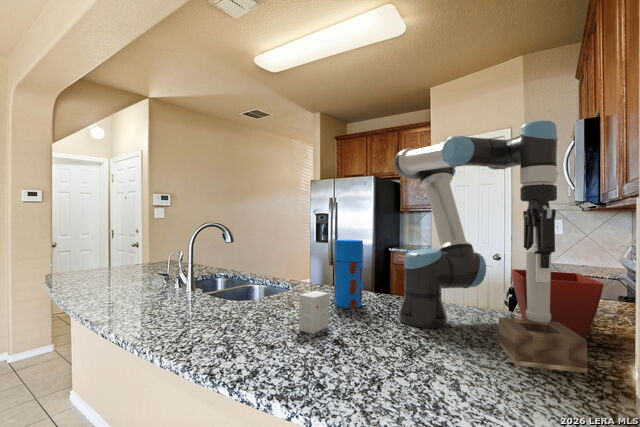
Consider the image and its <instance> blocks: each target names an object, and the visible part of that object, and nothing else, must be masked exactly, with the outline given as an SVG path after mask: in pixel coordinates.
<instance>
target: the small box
mask: <svg viewBox="0 0 640 427" xmlns="http://www.w3.org/2000/svg"><path fill="white" fill-rule="evenodd" d="M298 298H299V299H298V300H299V301H298V302H299V303H298V304H299V305H298V306H299V307H298V308H299V312H298V330H299V332H303V333H308V334H310V335H311V334H312V335H315V334H316V333H319V332H321V331H323V330H325V329H327V328H329V320H330V319H329V318H330V316H329V314H330V311H329V310H330V293H329V292H324V291H319V290H312V291H309V292H305V293H303V294H299V296H298Z"/></svg>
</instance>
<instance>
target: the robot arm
mask: <svg viewBox="0 0 640 427" xmlns="http://www.w3.org/2000/svg"><path fill="white" fill-rule="evenodd" d="M557 134H558V132H557V125H556V123H555V122H554V121H551V120H545V119H544V120H543V119H542V120H535V121H534V120H533V121H531V122H527V123H524V124H523V125H521V127H520V132H519V135H518V136H515V137H512V138H508V139H502V138H501V139H500V138H486V137H485V138H484V137H475V136H474V137H471V136H466V135H457V136H456V135H454V136H449V137H448V138H447V139H446V140H445V141H444V142H440V143H438V144H433V145H430V146H425V147H421V148H413V147H408V148H404V149H402V150H400V151H399V152H398V153H396V155H395V157H394V160H393V167H394V170H395V172H396V173H397V174H398V175H399V176H401V177H403V178H405V179H411V180H412V179H413V180H419V181H420V185H421V187H422V188H423V189H425V190H426V193H427V196H428V201H429V204H430V208H431V213H432V217H433V222H434V225H435V228H436V233H437V237H438V242H439V245H440V247H439V248H423V249H422V248H420V249H414V250H411V251H410V250H409V251H408V252H406V254H405V257H404V265H403V266H404V267H403V268H404V296H403V298H402V302H401V305H400V309H399V311H398V320H399V321H400V322H401V323H403V324H405V325H408V326H412V327H417V328H426V329H431V328H432V329H436V328H442V327H446V326H447V325H448V315H447V312H446V309H445V306H444V302H443V300H442V290H443V289H469V288H476V287H478V286H480V285H481V284H482V283H483V281H484V279H485V277H486V275H487V263H486V259H485V258H484V256H483V255H482V254H480V253H478V252H475V250H474V246H473V245H472V243H470V242H468V241H467V240H466V236H465V233H464V230H463V226H462V222H461V218H460V214H459V211H458V208H457V204H456V201H455V198H454V194H453V190H452V187H451V182H452V181H453V180H454V179H453V177H454V176H455V174H456V171H457V170H456V168H457V167H466V166H468V167H469V166H470V167H473V166H475V167H487V168H489V169H491V170H493V171H494V170H506V169H509V168H513V167H517V166H520V171H519V172H520V173H519V176H520V177H519V184H520V185H522V186H520V193H519V194H520V201H521V202H528V206H527V208H526V210H523V212H522V213H523V214H522V215H523V248H524V249H525V251H527V250H529V249H530V248H531V247H532V245H533V244H534V226H535V229H536V239H537V249H538V251H535V252H534V253H535V254H536V281H537V282H550V254H551V255H552V253H556V226H555V225H556V222H555V220H556V214H557V210H556V209H554V208H551V209H550V202H555V201H556V200H557V199H558V186H557V185H556V183H557V180H558V179H557V178H558V177H557V176H559V174H560V173H559V171H558V169H557V168H558V167H557V163H558V162H557V154H558V152H557V151H558V150H557V149H558V139H559V138H558V135H557Z"/></svg>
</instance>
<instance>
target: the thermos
mask: <svg viewBox="0 0 640 427" xmlns="http://www.w3.org/2000/svg"><path fill="white" fill-rule="evenodd" d="M363 265H364V241H363V240H361V239H335V244H334V305H335V306H336V307H339V308H344V309H357V308H360V307H362V305H363V289H364V288H363V286H364V284H363V283H364V282H363V281H364V280H363V279H364V278H363V275H364V273H363V272H364V266H363Z"/></svg>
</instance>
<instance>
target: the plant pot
mask: <svg viewBox="0 0 640 427" xmlns="http://www.w3.org/2000/svg"><path fill="white" fill-rule="evenodd" d="M511 277H512V282H513V283H512V284H513V288H514V292H515V293H514V294H515V297H516V301H517V305H518V308H519V310H520V311H519V312H520V315H521V319H526V320H529V319H527V317H526V310H527V278H526V269H516V268H515V269H511ZM603 289H604V283H603V282H602V281H598V280H596V279H594V278H591V277H588V276H587V275H584V274H581V273H576V272H564V271H563V272H560V271H551V281H550V314H551V320H550V321H551V322H559V323H561V324H562V325H564V326H565V327H567V328H568V329H570V330H571V331H573V332H574V333H576V334H578V335H579V336H581V337H582V338H584V339H585V338H586V336H587V334H588V333H589V331H590V329H591V327H592V324H593V322H594V320H595V316H596V315H597V311H598V308H599V306H600V301H601V299H602V298H601V297H602V293H603V291H604V290H603Z"/></svg>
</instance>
